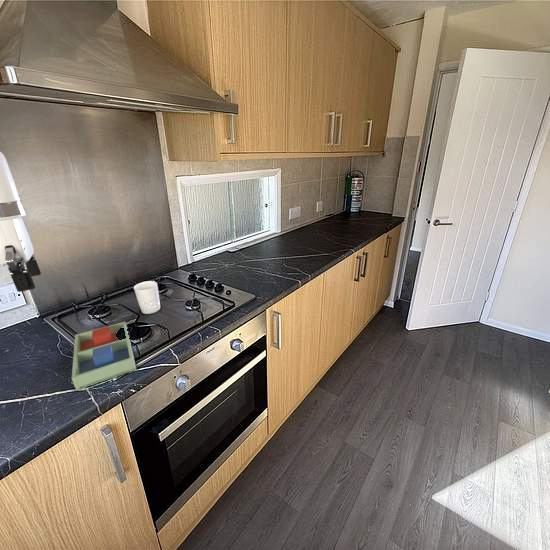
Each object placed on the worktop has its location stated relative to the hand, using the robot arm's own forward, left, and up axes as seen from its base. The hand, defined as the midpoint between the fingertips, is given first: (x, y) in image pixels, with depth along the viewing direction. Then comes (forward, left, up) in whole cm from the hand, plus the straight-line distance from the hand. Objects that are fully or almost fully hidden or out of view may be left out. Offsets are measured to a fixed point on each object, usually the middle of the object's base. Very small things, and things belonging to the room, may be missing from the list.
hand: (30, 282), depth 70 cm
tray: (+10, 0, -26) cm, 28 cm away
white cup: (+26, +22, -26) cm, 43 cm away
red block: (+10, +5, -25) cm, 28 cm away
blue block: (+10, -5, -25) cm, 28 cm away
